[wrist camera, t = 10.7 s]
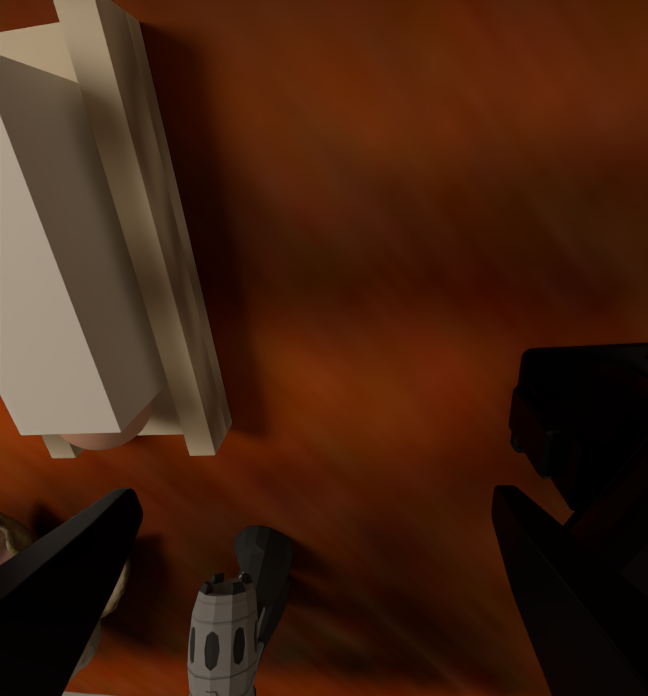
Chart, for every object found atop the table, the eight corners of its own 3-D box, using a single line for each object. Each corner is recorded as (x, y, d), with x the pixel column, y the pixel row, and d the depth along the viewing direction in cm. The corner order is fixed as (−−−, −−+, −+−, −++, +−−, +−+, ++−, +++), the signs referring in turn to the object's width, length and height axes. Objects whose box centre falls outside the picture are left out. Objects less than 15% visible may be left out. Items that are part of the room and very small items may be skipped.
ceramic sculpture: (-87, 732, 26) (-118, 590, 20) (18, 606, 34) (16, 480, 28) (66, 768, 26) (76, 639, 21) (133, 635, 34) (152, 517, 29)
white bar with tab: (-30, 73, 16) (-263, 7, 10) (77, 56, 15) (-102, -24, 9) (104, 415, 23) (14, 497, 17) (182, 412, 22) (117, 496, 16)
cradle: (-71, 56, 17) (-156, 31, 14) (138, 21, 15) (91, -14, 13) (86, 427, 24) (52, 458, 22) (232, 423, 23) (215, 455, 21)
